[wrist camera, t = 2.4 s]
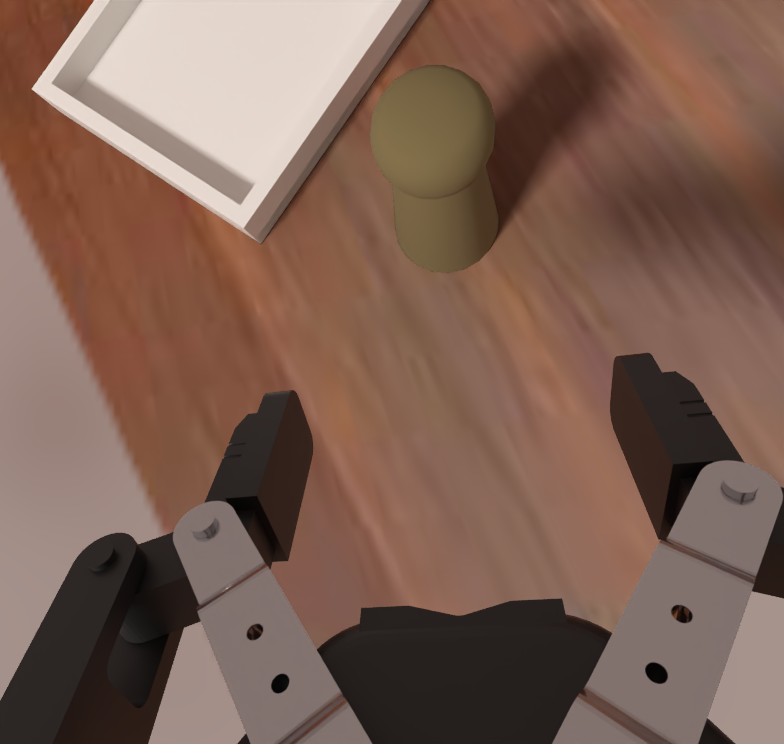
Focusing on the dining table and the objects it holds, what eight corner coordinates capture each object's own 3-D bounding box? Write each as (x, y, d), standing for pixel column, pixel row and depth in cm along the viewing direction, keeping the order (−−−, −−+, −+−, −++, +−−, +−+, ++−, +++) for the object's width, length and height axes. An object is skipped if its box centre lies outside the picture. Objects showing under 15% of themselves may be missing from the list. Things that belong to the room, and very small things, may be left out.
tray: (227, -124, 37) (210, -163, 35) (443, -20, 34) (440, -56, 31) (61, 112, 37) (31, 89, 35) (260, 244, 33) (243, 228, 31)
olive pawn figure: (396, 276, 32) (353, 190, 21) (393, 179, 33) (350, 48, 22) (501, 268, 31) (513, 173, 20) (495, 168, 32) (503, 26, 21)
